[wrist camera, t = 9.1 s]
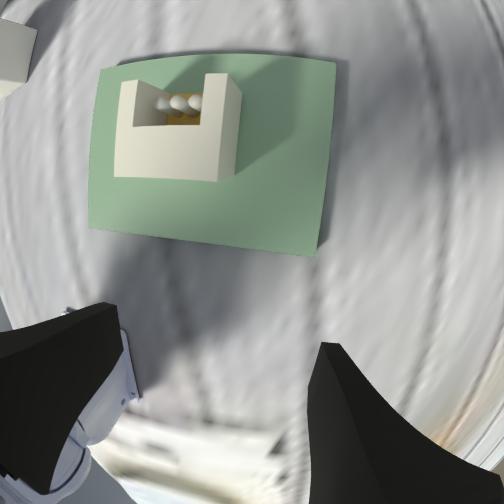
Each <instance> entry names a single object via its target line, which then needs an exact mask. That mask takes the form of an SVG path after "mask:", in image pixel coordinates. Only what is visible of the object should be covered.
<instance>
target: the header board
mask: <svg viewBox="0 0 504 504" xmlns="http://www.w3.org/2000/svg"><path fill="white" fill-rule="evenodd" d="M211 73H228V74H229V76H230V77H231V78H232V80H233V81H234V82H235V84H236V85H237V86H238V87H239V89H240V90H241V91H242V103H241V113H240V122H239V133H238V143H237V154H236V165H235V176H233V177H230V178H227V179H224V180H221V181H218V182H213V181H200V180H185V179H167V178H143V177H114V156H115V138H116V126H117V115H118V106H119V98H120V90H121V83H122V82H125V81H131V80H141V81H143V82H145V83H148V84H150V85H152V86H155V87H157V88H159V89H161V90H163V91H166V92H168V93H170V99H169V100H167V99H165V98H163V97H161V96H159V97H156V98H155V99H154V100H153V107H154V108H155V109H158V110H160V111H163V112H165V113H168V118H167V125H200V119H201V109H202V100H203V91H204V83H205V75H206V74H211ZM335 80H336V63H333V62H328V61H321V60H315V59H308V58H300V57H290V56H279V55H265V54H202V55H187V56H176V57H167V58H159V59H152V60H146V61H140V62H134V63H129V64H124V65H119V66H114V67H110V68H105V69H101V72H100V77H99V82H98V88H97V94H96V100H95V107H94V114H93V122H92V131H91V142H90V156H89V181H88V210H89V228H91V229H99V230H107V231H115V232H123V233H131V234H138V235H146V236H154V237H162V238H170V239H177V240H185V241H193V242H200V243H208V244H216V245H223V246H231V247H239V248H246V249H254V250H262V251H269V252H277V253H284V254H292V255H299V256H307V257H314V258H315V254H316V248H317V242H318V235H319V229H320V223H321V216H322V209H323V202H324V195H325V187H326V179H327V171H328V162H329V153H330V144H331V133H332V122H333V110H334V96H335Z"/></svg>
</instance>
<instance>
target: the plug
mask: <svg viewBox="0 0 504 504" xmlns="http://www.w3.org/2000/svg"><path fill="white" fill-rule="evenodd" d="M159 96H161V97H163V98H165V99H167V100H169V99H170V93H168V92H166V91H163V90H161V89H159V88H157V87H155V86H152V85H150V84H148V83H145V82H143V81H141V80H131V81H125V82H122V83H121V90H120V98H119V106H118V115H117V126H116V138H115V156H114V177H143V178H167V179H185V180H200V181H213V182H218V181H221V180H224V179H227V178H230V177H233V176H235V165H236V154H237V143H238V133H239V122H240V113H241V103H242V91H241V90H240V89H239V87H238V86H237V85H236V84H235V82H234V81H233V80H232V78H231V77H230V76H229V74H228V73H211V74H206V75H205V83H204V91H203V100H202V109H201V119H200V125H167V118H168V113H165V112H163V111H160V110H158V109H155V108H154V107H153V100H154V99H155V98H156V97H159Z"/></svg>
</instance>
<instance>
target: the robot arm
mask: <svg viewBox="0 0 504 504" xmlns="http://www.w3.org/2000/svg"><path fill="white" fill-rule="evenodd" d="M61 315H62V316H59V317H57V318H54V319H51V320H47V321H44V322H41V323H38V324H35V325H32V326H28V327H24V328H20V329H16V330H11V331H7V332H0V504H56V503H57V502H58V501H60V500H61V499H62V498H64V497H65V496H68V495H70V494H72V493H73V492H74V491H76V490H77V489H78V488H79V487H80V486H81V484H82V483H83V482H84V480H85V479H86V477H87V475H88V473H89V471H90V468H91V452H90V450H89V448H87V447H86V446H89V445H94V444H97V443H99V442H101V441H103V440H104V439H105V438H106V437H107V436H108V435H109V433H110V432H111V430H112V428H113V427H114V425H115V424H116V422H117V420H118V419H119V417H120V416H121V414H122V413H123V411H124V409H125V408H126V406H127V405H128V403H129V402H130V401H133V402H139V400H140V398H139V394H138V390H137V386H136V382H135V377H134V373H133V368H132V363H131V358H130V353H129V347H128V341H127V336H126V333H125V332H124V331H123V330H121V329H120V325H119V319H118V312H117V306H116V305H113V304H109V303H105V302H102V303H98V304H94V305H91V306H88V307H85V308H82V309H79V310H76V311H73V312H71V313H69V312H67V311H64V312H62V314H61ZM307 416H308V429H309V442H310V456H311V486H310V498H309V504H504V487H503V484H502V481H501V478H500V476H499V475H498V474H495V473H492V472H490V471H487V470H485V469H482V468H480V467H477V466H475V465H472V464H470V463H468V462H466V461H464V460H462V459H460V458H459V457H457V456H455V455H453V454H451V453H450V452H448V451H446V450H445V449H443V448H441V447H440V446H438V445H437V444H436V443H434V442H433V441H431V440H430V439H428V438H427V437H426V436H424V435H423V434H422V433H420V432H419V431H418V430H417V429H415V428H414V427H413V426H412V425H411V424H410V423H408V422H407V421H406V420H405V419H404V418H403V417H402V416H401V415H399V414H398V413H397V412H396V411H395V410H394V409H393V408H392V407H391V406H390V405H389V404H388V402H387V401H386V400H385V399H384V398H383V397H382V396H381V395H380V394H379V393H378V392H377V390H376V389H375V388H374V387H373V386H372V385H371V383H370V382H369V381H368V380H367V379H366V377H365V376H364V375H363V374H362V372H361V371H360V370H359V368H358V367H357V366H356V364H355V363H354V362H353V361H352V359H351V358H350V357H349V355H348V354H347V353H346V351H345V350H344V349H343V347H342V346H341V345H340V344H339V343H328V342H321V346H320V349H319V353H318V356H317V359H316V363H315V366H314V369H313V373H312V376H311V379H310V382H309V385H308V402H307Z"/></svg>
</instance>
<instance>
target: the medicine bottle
mask: <svg viewBox="0 0 504 504" xmlns="http://www.w3.org/2000/svg"><path fill="white" fill-rule="evenodd" d="M36 35H37V30H36V29H34V28H31V27H28V26H25V25H22V24H18V23H15V22H11V21H8V20H4V19H0V101H1V100H3V99H4V98H5V97H7V96H8V95H9V94H11V93H12V92H14V91H15V90H16V89H18V88H19V87H21V86H22V85H24V84H25V83H26V82H27V76H28V71H29V65H30V60H31V56H32V51H33V47H34V43H35V39H36Z"/></svg>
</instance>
